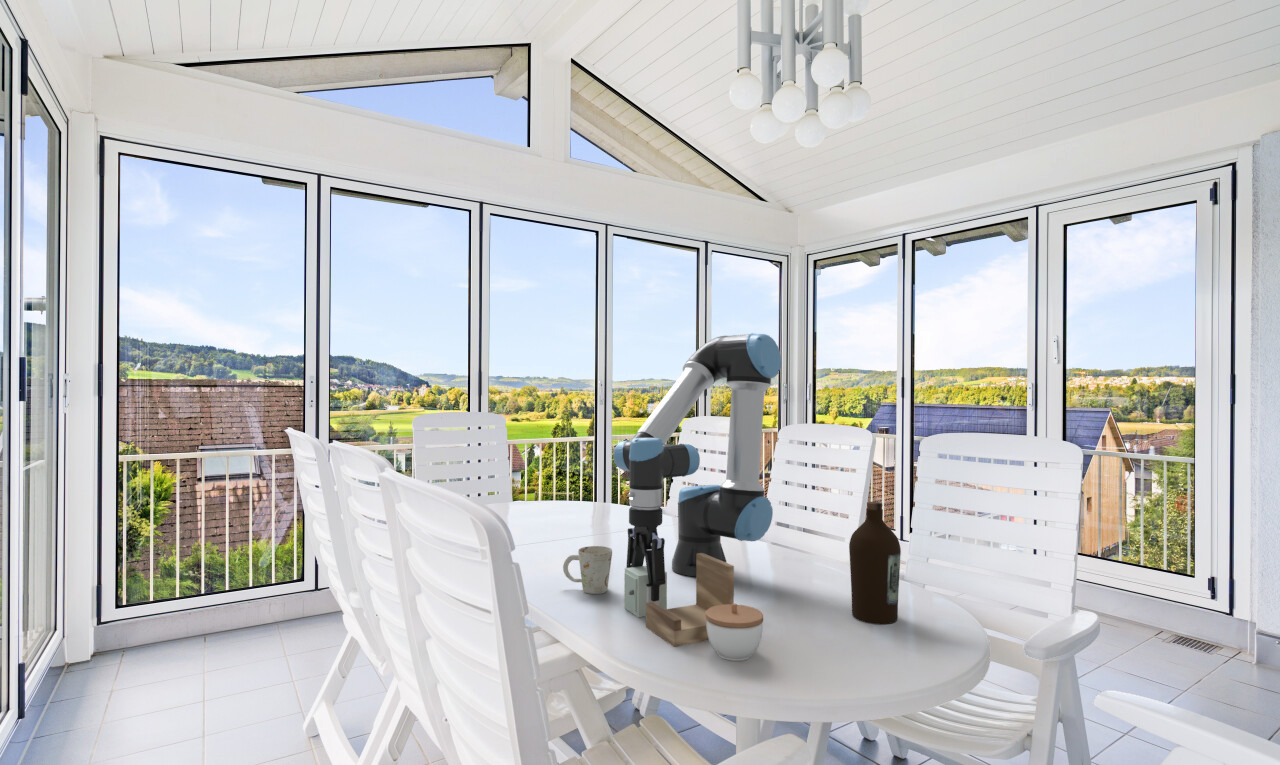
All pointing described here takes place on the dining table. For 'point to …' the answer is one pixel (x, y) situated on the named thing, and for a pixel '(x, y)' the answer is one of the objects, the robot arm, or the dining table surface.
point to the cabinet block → (640, 591)
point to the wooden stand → (691, 620)
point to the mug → (592, 568)
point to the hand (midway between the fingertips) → (644, 609)
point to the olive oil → (874, 569)
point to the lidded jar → (734, 630)
